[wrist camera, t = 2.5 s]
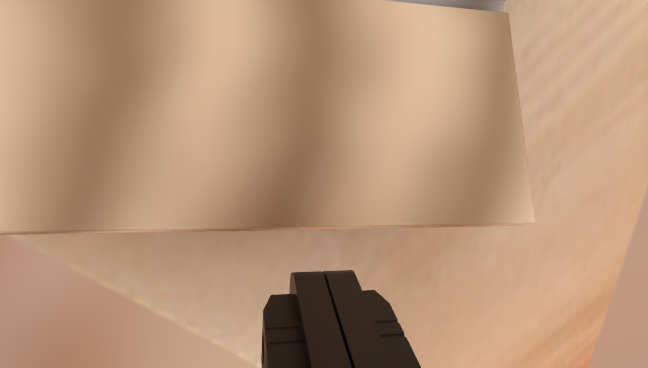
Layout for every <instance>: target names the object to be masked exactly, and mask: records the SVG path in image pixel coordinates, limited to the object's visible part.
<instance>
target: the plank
mask: <svg viewBox="0 0 648 368" xmlns="http://www.w3.org/2000/svg"><path fill="white" fill-rule="evenodd" d="M530 223H535V218H534V210H533V202H532V195H531V187H530V179H529V172H528V164H527V156H526V148H525V141H524V133H523V125H522V117H521V110H520V102H519V94H518V87H517V79H516V71H515V63H514V56H513V48H512V40H511V32H510V25H509V17H508V13H504V12H494V11H484V10H474V9H464V8H455V7H445V6H435V5H425V4H415V3H405V2H395V1H385V0H0V235H17V234H75V233H134V232H192V231H250V230H308V229H367V228H425V227H483V226H517V225H524V224H530Z"/></svg>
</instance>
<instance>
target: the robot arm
mask: <svg viewBox="0 0 648 368" xmlns="http://www.w3.org/2000/svg"><path fill="white" fill-rule="evenodd" d="M261 361H262V368H421V366H420V364H419V362H418V360H417V358H416V356H415V354H414V352H413V350H412V348H411V346H410V344H409V342H408V340H407V338H406V337H404V332H403V330H402V328H401V326H400V324H399V323H398V321H397V318H396V316H395V314H394V311H393V309H392V307H391V305H390V303H388V302H387V301H386V300H385V299H384V298H383V297H382V296H381V295H380V294H378V293H377V292H376V291H375V290H366V291H362V289H361V287H360V285H359V282H358V280H357V278H356V275H355V273H354V271H352V270H346V271H323V272H293V273H291V279H290V293H289V294H281V295H271V296H270V298H269V300H268V302H267V304H266V306H265V308H264V310H263V332H262V358H261Z"/></svg>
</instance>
